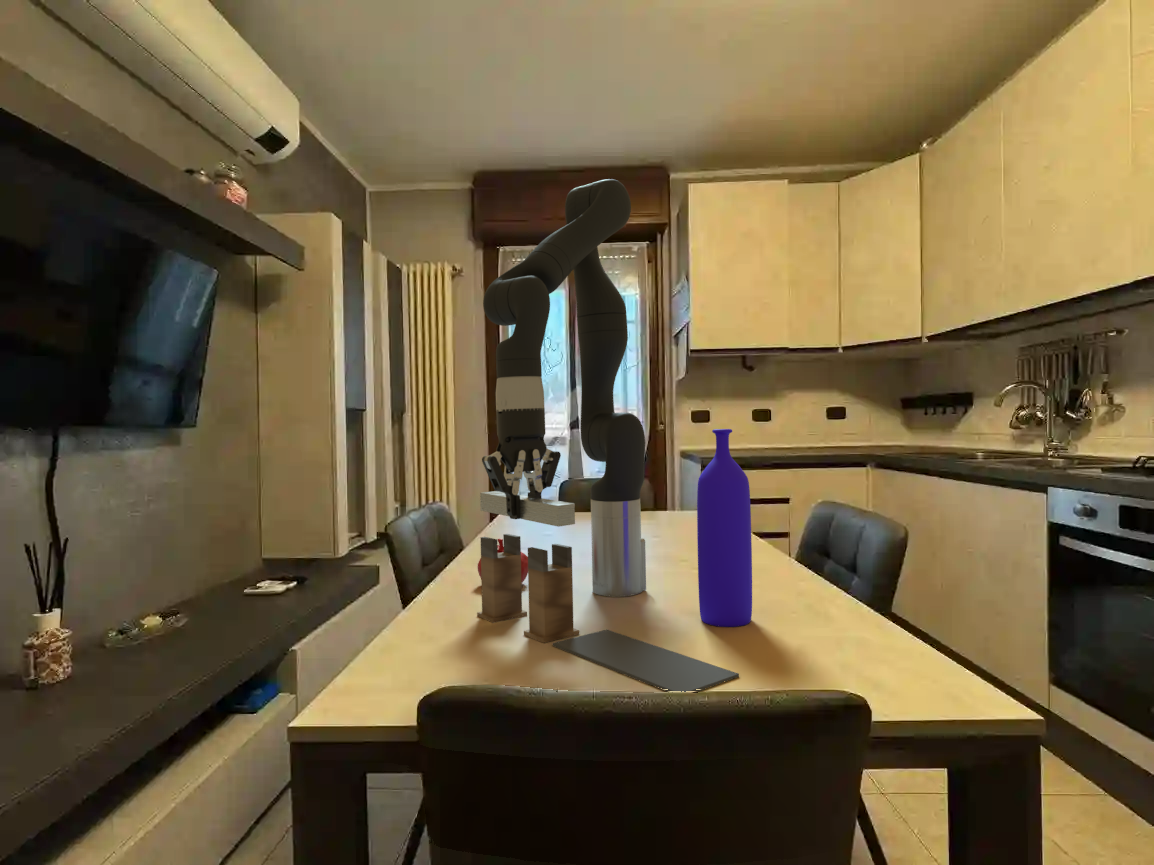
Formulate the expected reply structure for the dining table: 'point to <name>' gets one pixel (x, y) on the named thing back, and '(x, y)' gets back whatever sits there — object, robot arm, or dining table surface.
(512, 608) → the post
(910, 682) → the dining table surface
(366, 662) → the dining table surface
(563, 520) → the rail
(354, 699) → the dining table surface
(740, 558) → the bottle
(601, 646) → the mat
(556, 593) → the post
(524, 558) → the pomegranate
